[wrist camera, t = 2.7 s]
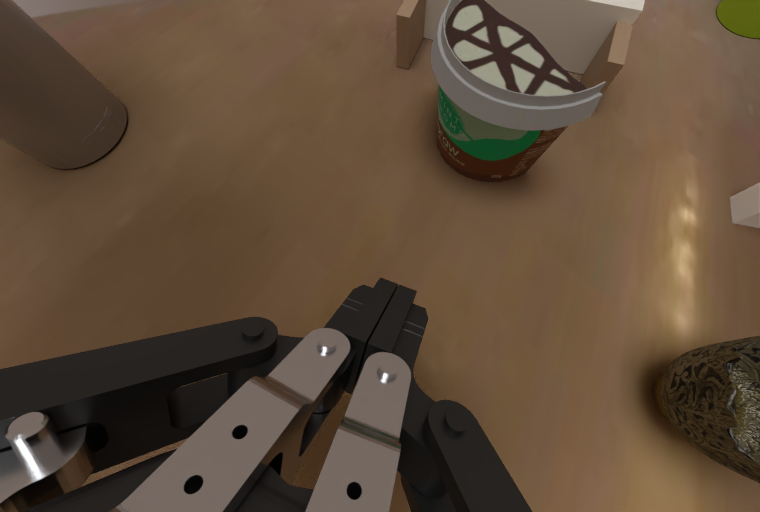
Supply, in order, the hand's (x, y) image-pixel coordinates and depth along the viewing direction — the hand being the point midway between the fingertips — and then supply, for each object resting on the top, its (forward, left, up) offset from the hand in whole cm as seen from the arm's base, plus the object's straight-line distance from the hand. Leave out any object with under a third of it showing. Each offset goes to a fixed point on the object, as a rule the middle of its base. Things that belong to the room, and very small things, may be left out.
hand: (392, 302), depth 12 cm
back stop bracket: (0, +27, -12) cm, 29 cm away
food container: (0, +17, -12) cm, 21 cm away
